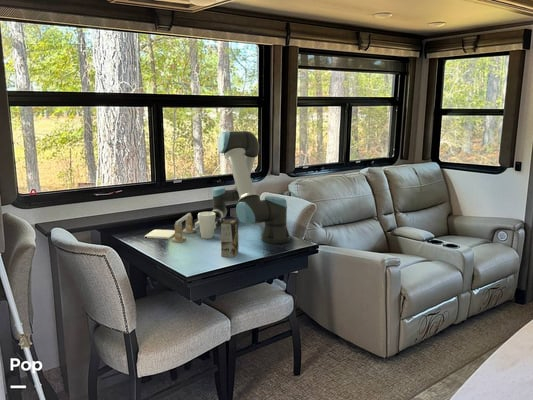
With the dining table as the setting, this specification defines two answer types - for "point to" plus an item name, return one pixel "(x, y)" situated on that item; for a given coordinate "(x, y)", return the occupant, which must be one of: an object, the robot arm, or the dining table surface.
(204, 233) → the foam cup
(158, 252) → the dining table surface
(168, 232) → the cream pad
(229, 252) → the coffee box
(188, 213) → the steel bar
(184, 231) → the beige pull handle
